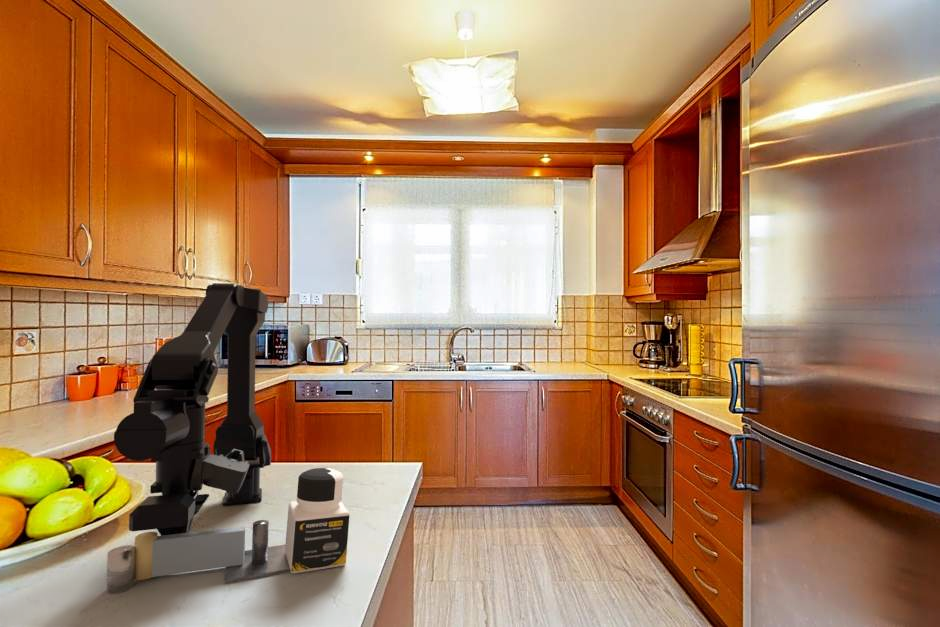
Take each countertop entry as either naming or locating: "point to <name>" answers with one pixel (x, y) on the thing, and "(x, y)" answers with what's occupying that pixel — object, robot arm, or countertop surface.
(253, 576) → the peg on base plate
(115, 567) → the post
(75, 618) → the countertop surface
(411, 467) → the countertop surface
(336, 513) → the medicine bottle
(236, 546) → the gate
